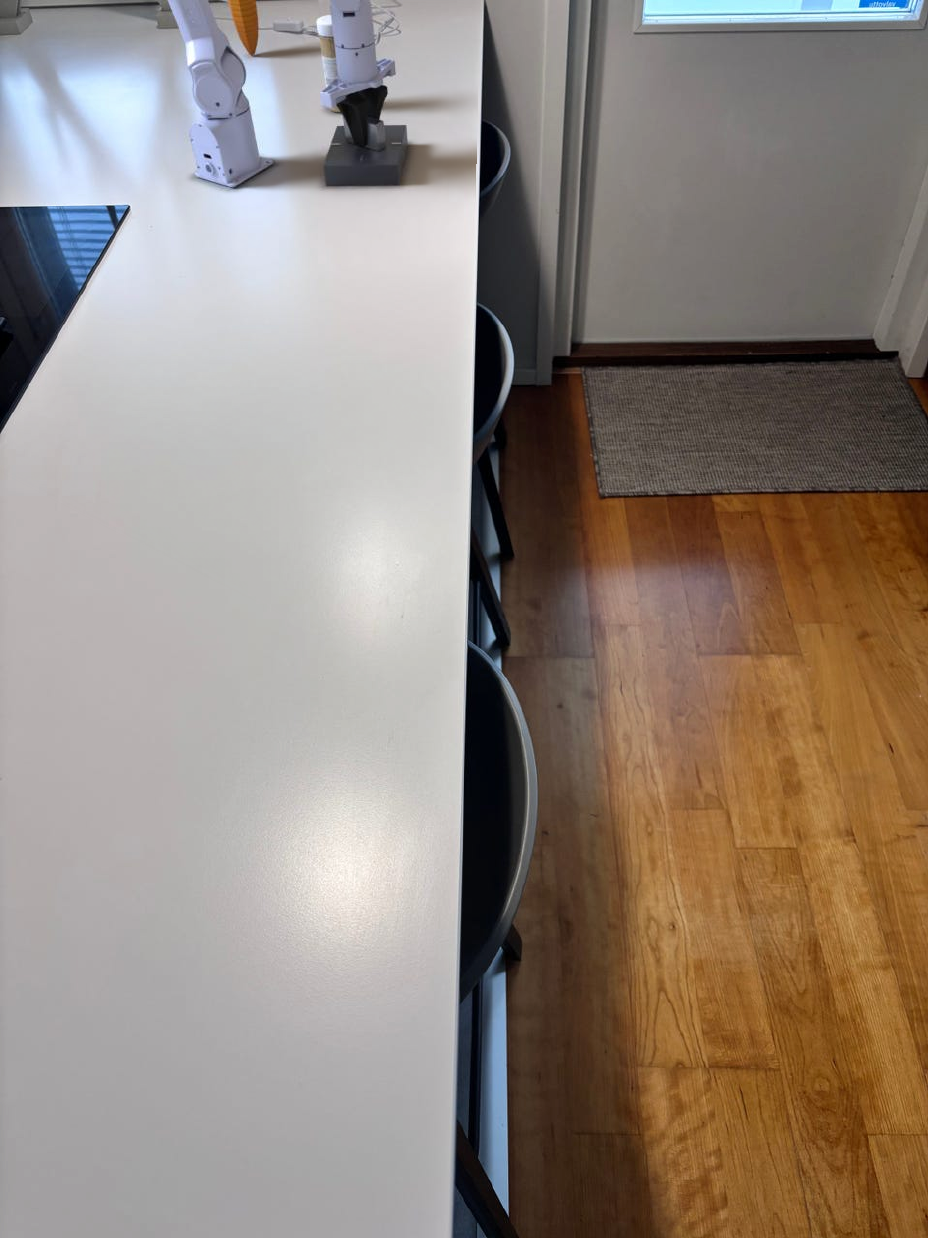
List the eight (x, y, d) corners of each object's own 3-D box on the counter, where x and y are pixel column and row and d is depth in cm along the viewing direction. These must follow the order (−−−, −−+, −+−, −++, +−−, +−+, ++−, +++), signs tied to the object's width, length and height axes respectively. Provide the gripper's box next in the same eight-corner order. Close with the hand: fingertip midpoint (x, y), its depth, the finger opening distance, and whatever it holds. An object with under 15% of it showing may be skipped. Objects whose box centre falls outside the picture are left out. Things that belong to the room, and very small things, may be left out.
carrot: (263, 60, 177) (246, -35, 165) (237, 61, 177) (218, -34, 165) (267, 50, 180) (250, -44, 168) (241, 51, 180) (223, -43, 169)
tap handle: (386, 146, 144) (383, 118, 140) (378, 151, 143) (375, 123, 140) (353, 137, 146) (350, 109, 143) (345, 141, 145) (342, 113, 142)
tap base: (398, 185, 142) (396, 163, 139) (326, 185, 143) (322, 164, 140) (407, 144, 151) (406, 123, 148) (339, 144, 152) (336, 124, 149)
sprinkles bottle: (360, 107, 161) (350, 17, 151) (339, 115, 159) (328, 25, 149) (343, 100, 163) (332, 11, 153) (322, 108, 161) (310, 18, 151)
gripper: (342, 63, 128) (354, 165, 139) (408, 30, 136) (415, 129, 146) (303, 54, 131) (318, 154, 142) (370, 21, 139) (380, 119, 149)
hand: (365, 141), depth 144 cm, fingers closed on tap handle, 2 cm apart
